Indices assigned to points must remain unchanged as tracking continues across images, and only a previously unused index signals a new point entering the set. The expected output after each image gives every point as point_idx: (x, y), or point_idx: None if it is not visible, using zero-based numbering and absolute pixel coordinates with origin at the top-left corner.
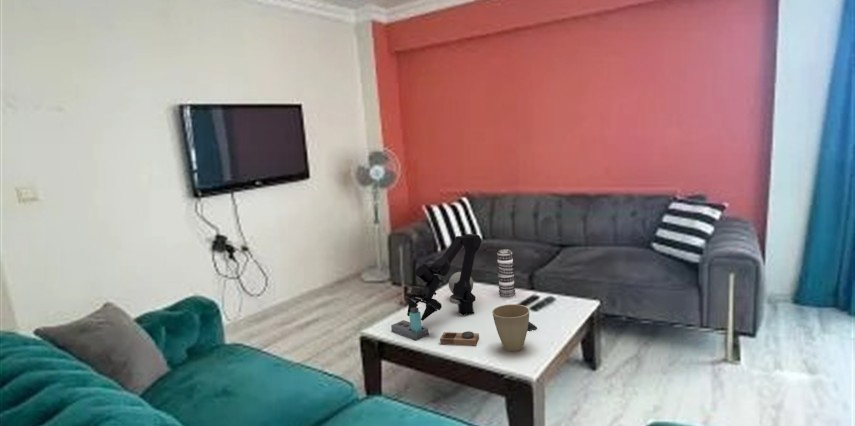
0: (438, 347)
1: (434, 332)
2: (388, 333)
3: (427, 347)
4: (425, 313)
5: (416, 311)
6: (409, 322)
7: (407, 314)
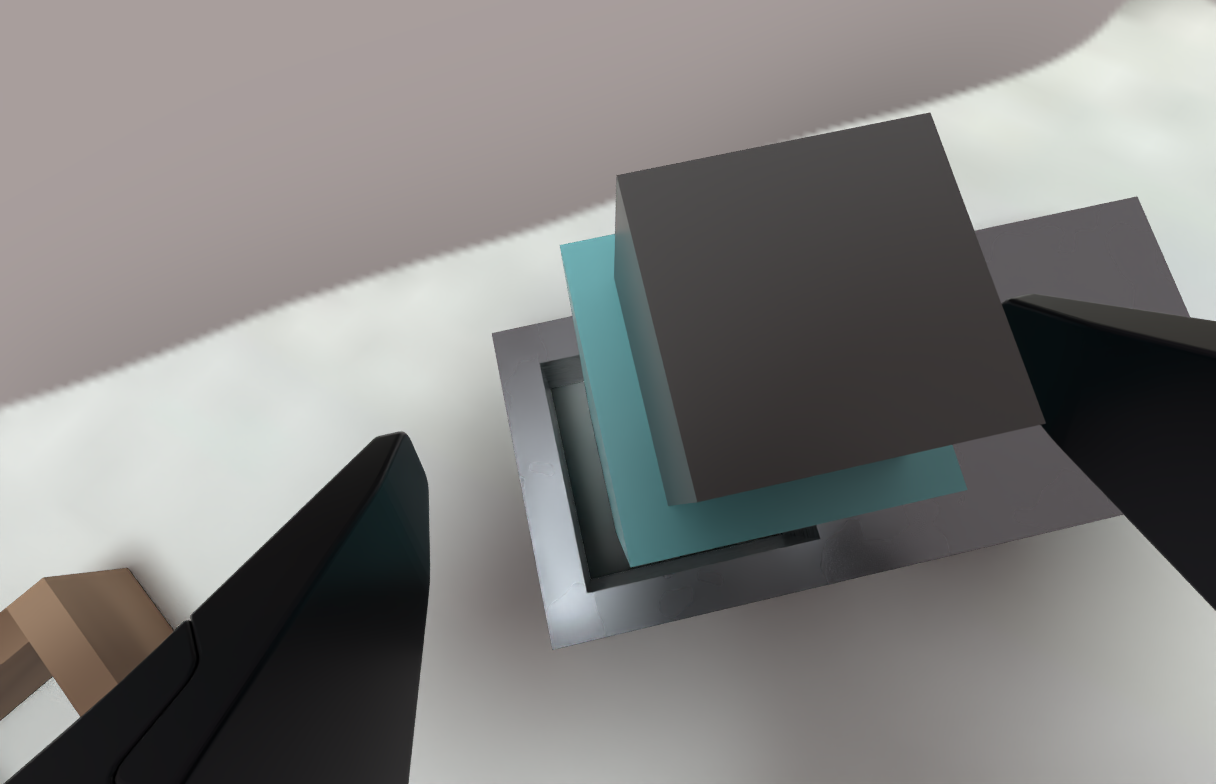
0: (72, 488)
1: (577, 756)
2: (1009, 182)
3: (199, 368)
4: (210, 619)
5: (639, 371)
6: (1068, 512)
7: (1033, 297)
